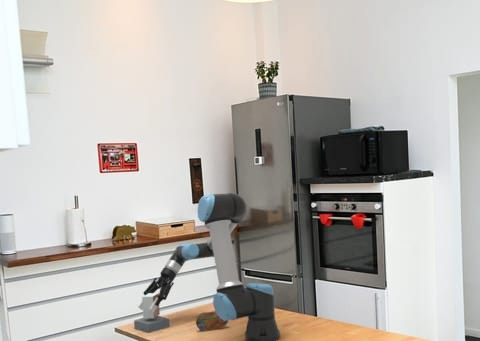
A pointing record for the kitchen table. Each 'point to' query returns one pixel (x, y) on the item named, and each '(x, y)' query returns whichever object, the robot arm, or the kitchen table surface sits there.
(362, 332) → the kitchen table surface
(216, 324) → the tin
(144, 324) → the block
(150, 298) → the white upright block
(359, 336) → the kitchen table surface
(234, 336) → the kitchen table surface
